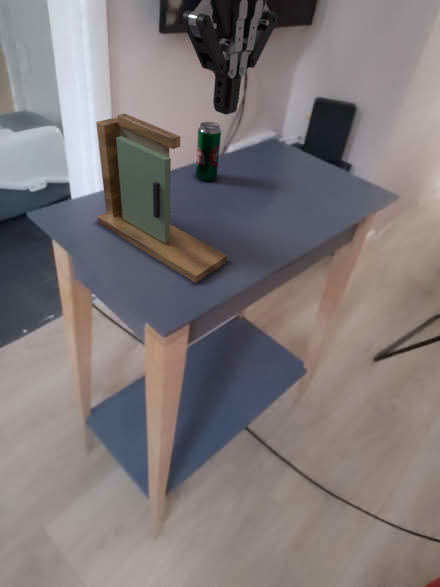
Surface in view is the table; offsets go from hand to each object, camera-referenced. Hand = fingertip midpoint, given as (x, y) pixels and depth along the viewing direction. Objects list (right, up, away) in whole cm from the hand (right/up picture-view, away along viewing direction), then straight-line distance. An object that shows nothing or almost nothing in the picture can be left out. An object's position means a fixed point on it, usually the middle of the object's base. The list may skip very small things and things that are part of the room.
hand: (224, 111), depth 45 cm
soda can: (-4, +7, +48) cm, 49 cm away
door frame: (-11, -12, +26) cm, 31 cm away
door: (-14, -9, +25) cm, 30 cm away
